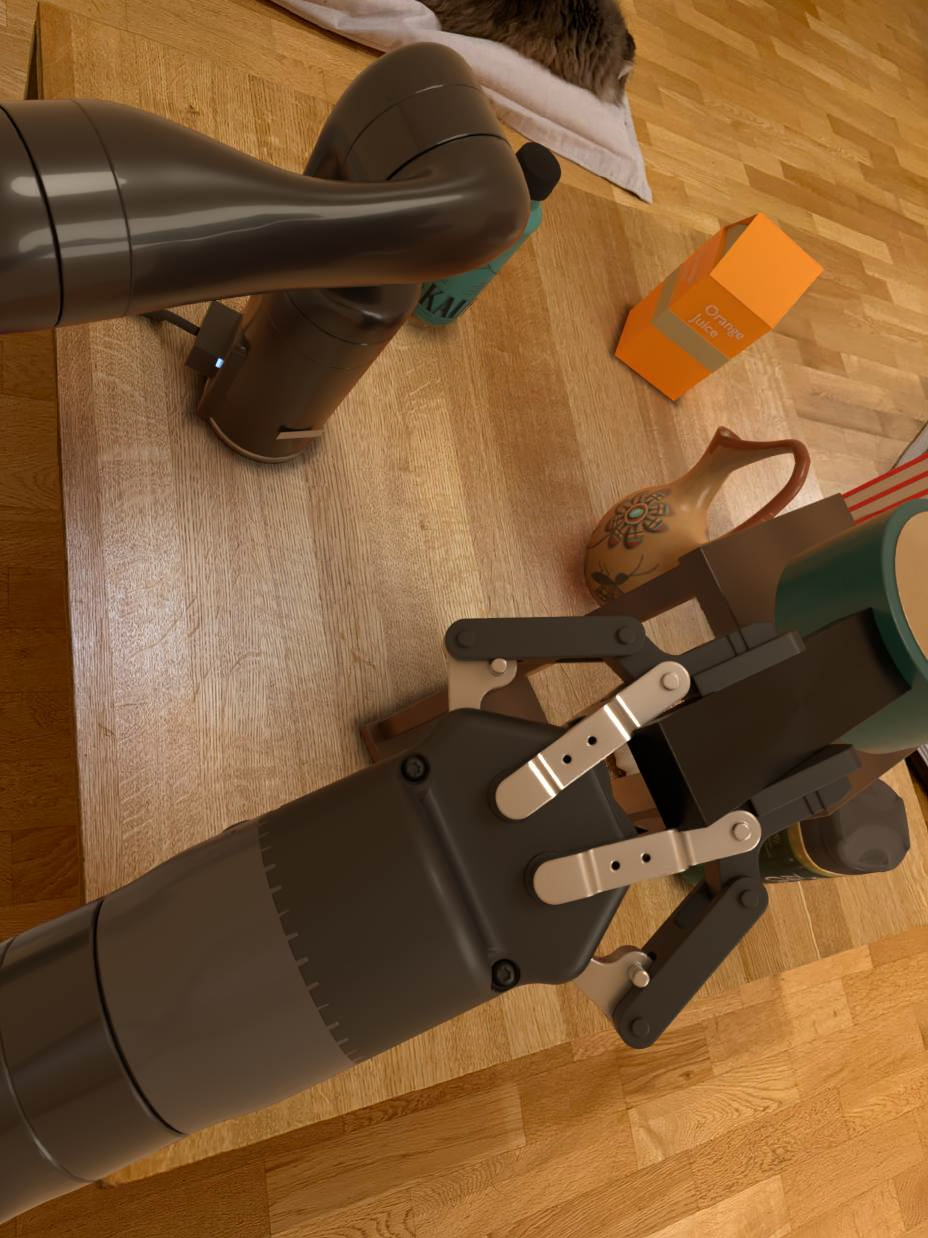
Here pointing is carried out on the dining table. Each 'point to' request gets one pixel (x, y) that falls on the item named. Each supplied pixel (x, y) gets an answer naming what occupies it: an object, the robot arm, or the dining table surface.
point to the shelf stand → (713, 574)
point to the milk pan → (808, 676)
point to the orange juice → (715, 305)
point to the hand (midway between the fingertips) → (816, 697)
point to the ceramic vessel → (678, 515)
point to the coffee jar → (835, 842)
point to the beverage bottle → (456, 293)
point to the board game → (889, 490)
